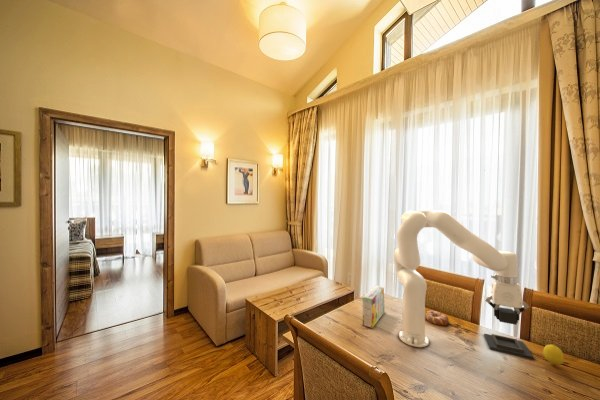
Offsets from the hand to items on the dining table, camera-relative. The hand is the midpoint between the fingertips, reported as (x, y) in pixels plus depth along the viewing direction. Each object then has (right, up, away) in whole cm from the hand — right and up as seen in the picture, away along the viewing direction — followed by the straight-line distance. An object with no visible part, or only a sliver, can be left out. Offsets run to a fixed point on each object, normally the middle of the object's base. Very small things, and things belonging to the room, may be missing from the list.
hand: (506, 319), depth 105 cm
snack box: (-52, -12, +24) cm, 58 cm away
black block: (0, -1, 0) cm, 1 cm away
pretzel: (-19, -12, +22) cm, 31 cm away
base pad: (0, -12, 0) cm, 12 cm away
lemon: (+8, -12, -12) cm, 19 cm away
